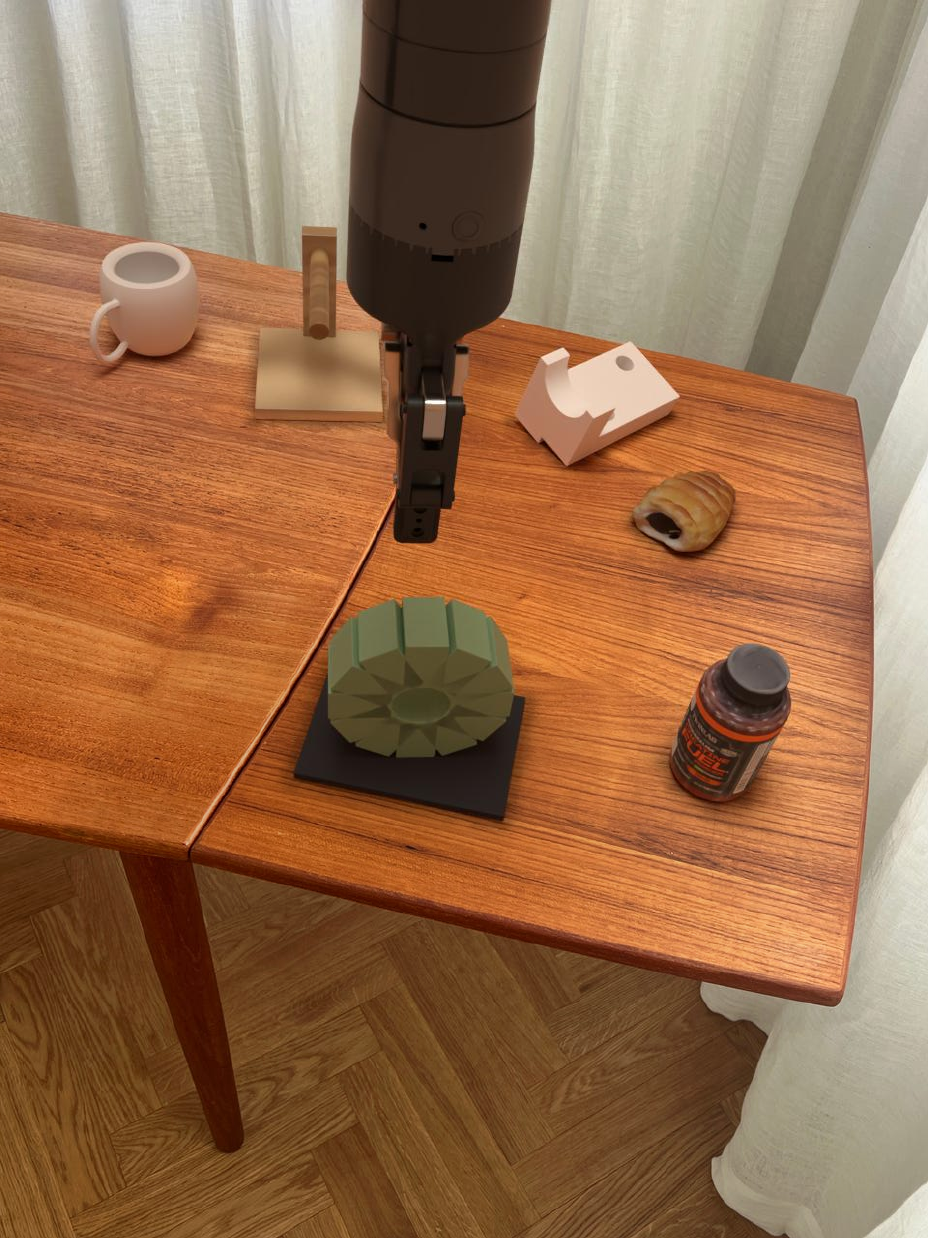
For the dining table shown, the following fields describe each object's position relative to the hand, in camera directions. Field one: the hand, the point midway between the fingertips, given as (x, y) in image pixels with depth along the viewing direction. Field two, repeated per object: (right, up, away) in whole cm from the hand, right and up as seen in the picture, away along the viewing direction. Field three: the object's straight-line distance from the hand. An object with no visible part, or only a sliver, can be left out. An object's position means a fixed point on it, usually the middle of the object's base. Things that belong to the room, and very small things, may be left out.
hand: (410, 482), depth 59 cm
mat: (-1, -15, +17) cm, 23 cm away
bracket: (+15, +10, +42) cm, 45 cm away
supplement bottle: (+20, -18, +18) cm, 32 cm away
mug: (-26, +17, +43) cm, 53 cm away
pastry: (+21, +1, +34) cm, 40 cm away
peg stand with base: (-10, +15, +42) cm, 46 cm away
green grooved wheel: (0, -11, +12) cm, 16 cm away
